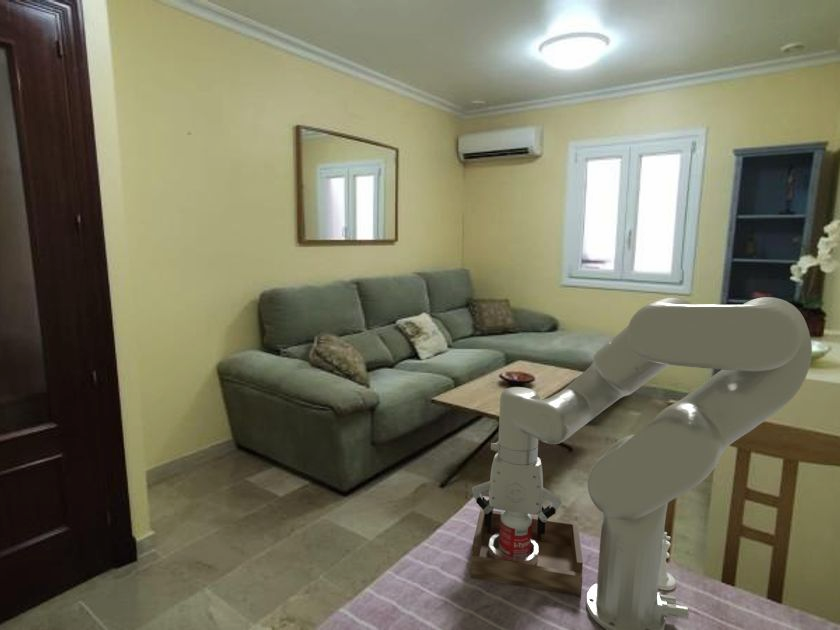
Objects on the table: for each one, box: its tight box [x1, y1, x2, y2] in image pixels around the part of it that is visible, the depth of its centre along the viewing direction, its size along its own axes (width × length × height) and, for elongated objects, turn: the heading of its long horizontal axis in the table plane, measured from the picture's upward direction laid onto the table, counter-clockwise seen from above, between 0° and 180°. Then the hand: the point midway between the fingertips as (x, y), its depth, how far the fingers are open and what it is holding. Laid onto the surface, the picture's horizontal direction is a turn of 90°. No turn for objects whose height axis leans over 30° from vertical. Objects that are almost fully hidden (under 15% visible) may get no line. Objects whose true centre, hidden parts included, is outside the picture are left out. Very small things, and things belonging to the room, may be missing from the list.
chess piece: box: [658, 531, 676, 591], centre depth 91 cm, size 5×5×10 cm
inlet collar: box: [489, 532, 538, 565], centre depth 97 cm, size 10×10×2 cm
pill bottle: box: [499, 510, 532, 559], centre depth 97 cm, size 6×6×11 cm
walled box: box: [470, 508, 584, 598], centre depth 96 cm, size 20×14×6 cm
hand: (514, 532), depth 97 cm, fingers open, 9 cm apart
